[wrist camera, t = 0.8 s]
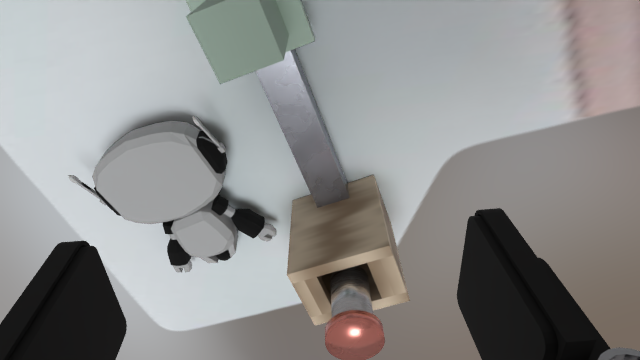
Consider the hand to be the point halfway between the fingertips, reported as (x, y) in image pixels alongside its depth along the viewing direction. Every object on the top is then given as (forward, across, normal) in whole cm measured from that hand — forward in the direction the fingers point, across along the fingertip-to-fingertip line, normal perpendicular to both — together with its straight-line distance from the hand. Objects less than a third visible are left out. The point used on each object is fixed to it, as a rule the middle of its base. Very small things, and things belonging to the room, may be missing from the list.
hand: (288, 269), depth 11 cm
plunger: (+17, -3, +17) cm, 24 cm away
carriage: (+26, +2, -2) cm, 26 cm away
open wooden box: (+26, -4, +17) cm, 31 cm away
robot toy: (+27, +10, +13) cm, 32 cm away
